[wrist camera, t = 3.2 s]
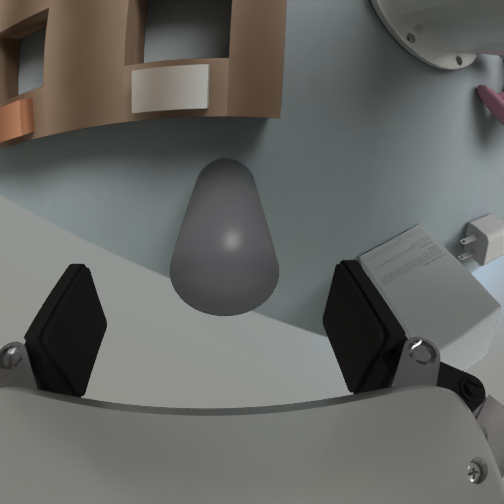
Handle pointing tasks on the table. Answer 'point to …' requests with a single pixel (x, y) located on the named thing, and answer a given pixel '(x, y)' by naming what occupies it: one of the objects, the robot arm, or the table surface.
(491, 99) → the video game controller
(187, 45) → the table surface
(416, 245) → the supplement box
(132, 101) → the socket block
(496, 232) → the usb wall charger
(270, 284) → the charcoal plug
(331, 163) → the table surface
